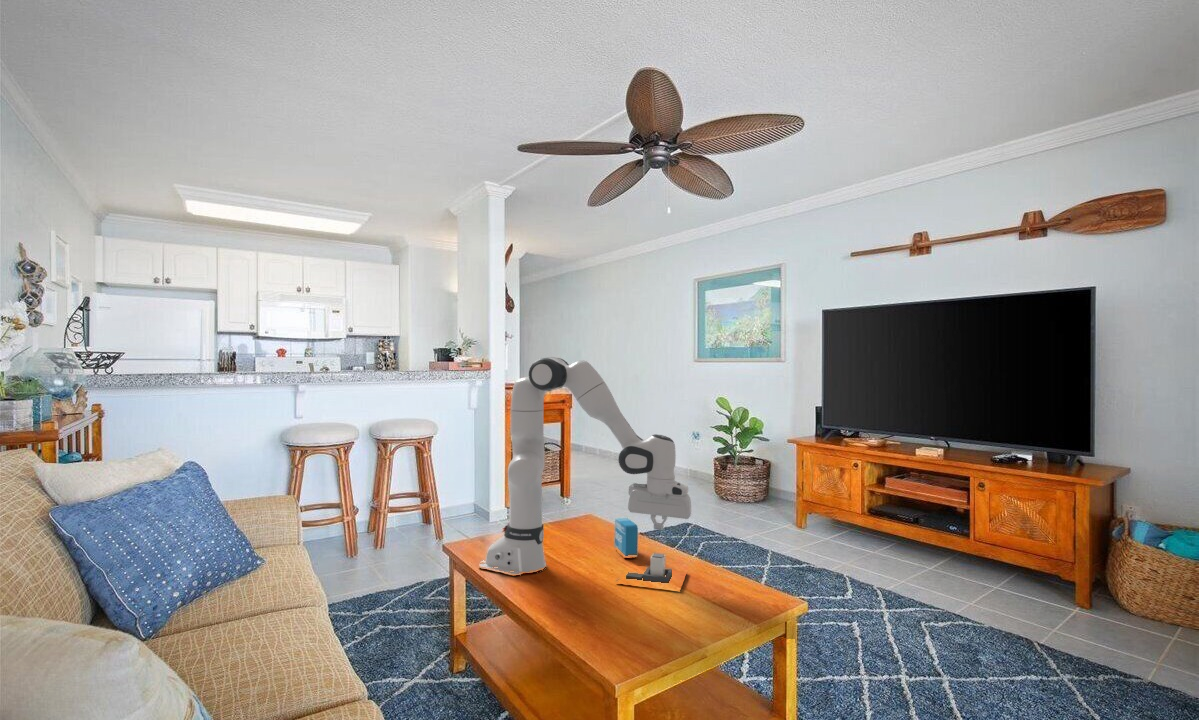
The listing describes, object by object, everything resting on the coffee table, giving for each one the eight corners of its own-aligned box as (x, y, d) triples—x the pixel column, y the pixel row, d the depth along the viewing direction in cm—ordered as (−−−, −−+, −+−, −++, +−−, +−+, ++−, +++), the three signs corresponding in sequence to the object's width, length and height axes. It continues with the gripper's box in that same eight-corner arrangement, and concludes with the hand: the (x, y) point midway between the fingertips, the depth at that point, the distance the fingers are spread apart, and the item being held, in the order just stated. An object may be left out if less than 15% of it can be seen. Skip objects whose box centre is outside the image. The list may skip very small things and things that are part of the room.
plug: (650, 579, 181) (650, 556, 181) (652, 574, 186) (653, 551, 186) (662, 581, 180) (663, 557, 180) (665, 576, 184) (665, 553, 185)
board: (616, 584, 180) (616, 574, 180) (628, 567, 195) (628, 558, 196) (680, 592, 175) (680, 581, 175) (687, 574, 190) (687, 564, 190)
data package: (614, 549, 214) (614, 517, 214) (625, 548, 215) (626, 516, 216) (625, 560, 203) (626, 526, 203) (637, 559, 204) (638, 525, 204)
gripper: (626, 484, 185) (624, 527, 185) (690, 491, 179) (688, 535, 179) (631, 480, 191) (629, 522, 191) (693, 487, 185) (691, 530, 185)
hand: (658, 529), depth 185 cm, fingers closed
